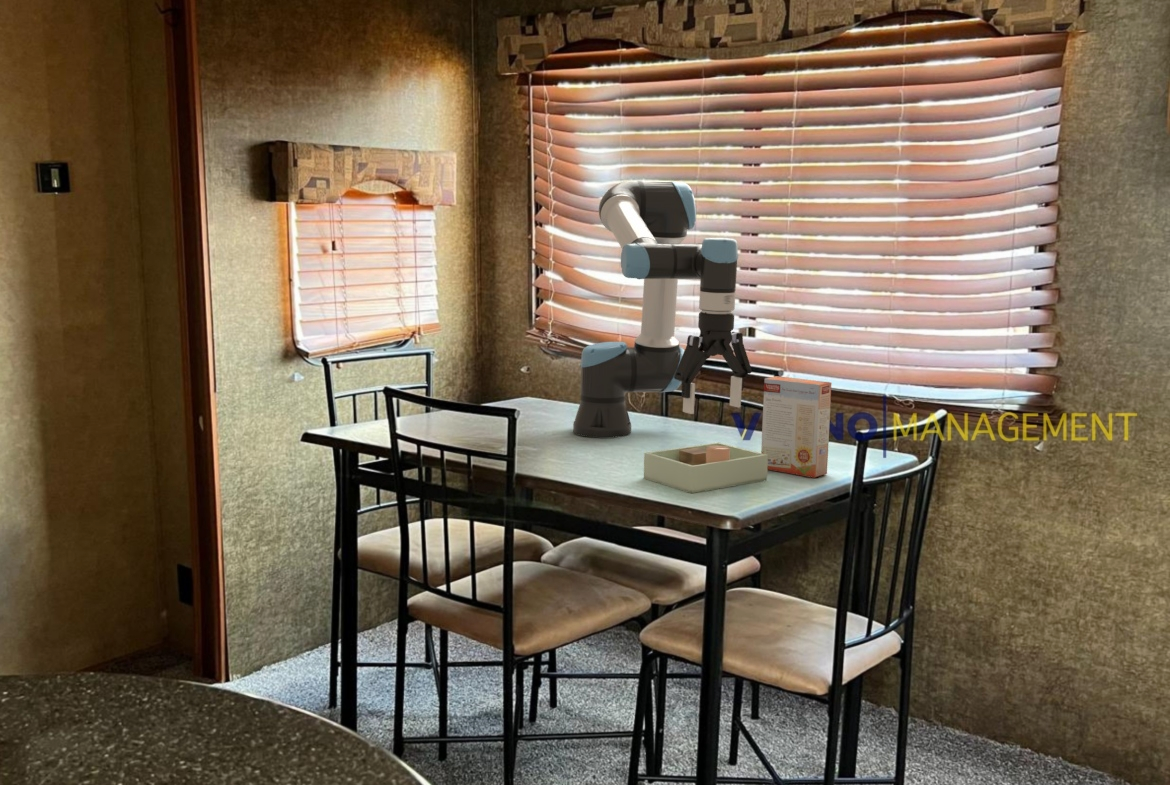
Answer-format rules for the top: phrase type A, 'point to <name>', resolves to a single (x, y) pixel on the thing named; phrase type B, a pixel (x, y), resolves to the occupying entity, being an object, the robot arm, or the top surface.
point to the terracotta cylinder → (717, 453)
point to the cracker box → (796, 425)
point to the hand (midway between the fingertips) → (712, 409)
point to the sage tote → (705, 469)
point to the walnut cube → (692, 456)
